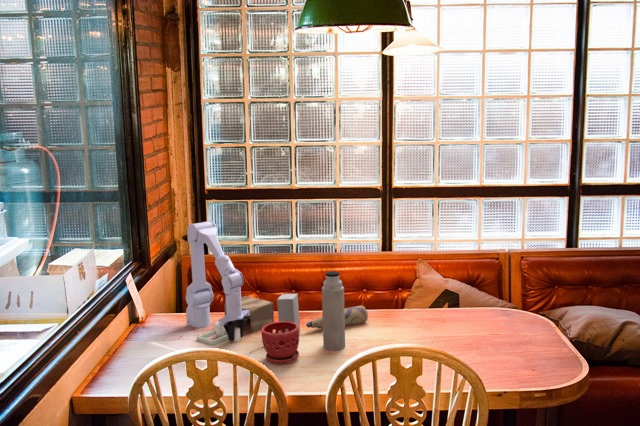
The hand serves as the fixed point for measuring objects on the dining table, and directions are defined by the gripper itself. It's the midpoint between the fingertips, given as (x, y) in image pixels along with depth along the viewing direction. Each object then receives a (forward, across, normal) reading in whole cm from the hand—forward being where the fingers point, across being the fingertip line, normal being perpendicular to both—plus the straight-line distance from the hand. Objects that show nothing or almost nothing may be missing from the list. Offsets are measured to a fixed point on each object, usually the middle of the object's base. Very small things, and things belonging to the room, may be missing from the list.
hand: (235, 338), depth 247 cm
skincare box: (+2, +17, -12) cm, 21 cm away
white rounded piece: (+1, 0, 0) cm, 1 cm away
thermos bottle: (+2, +18, -33) cm, 38 cm away
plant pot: (+2, -2, -25) cm, 25 cm away
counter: (+1, +15, +8) cm, 17 cm away
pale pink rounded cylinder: (0, 0, +8) cm, 8 cm away
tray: (+2, -2, +8) cm, 8 cm away
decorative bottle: (+2, +36, -20) cm, 42 cm away
